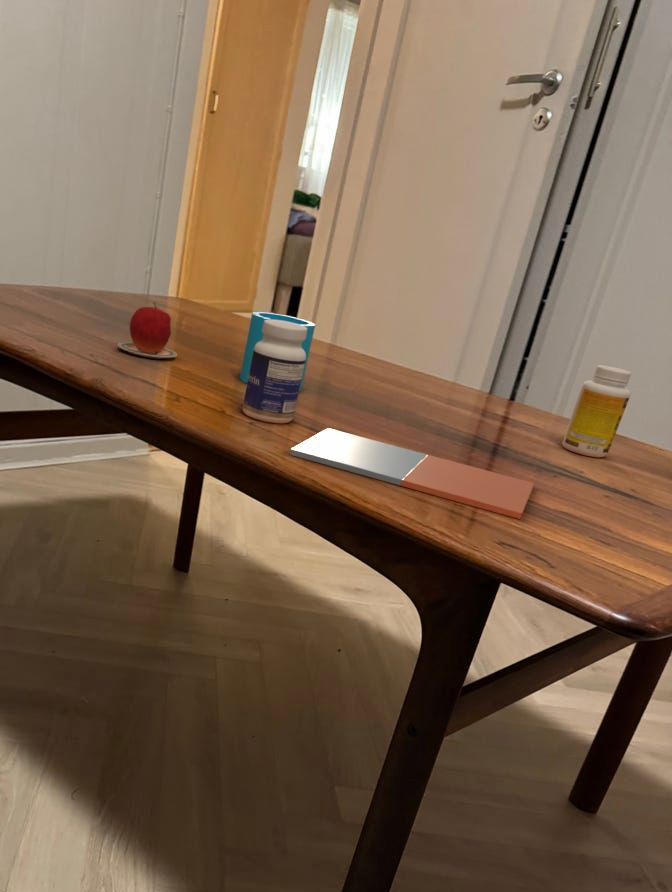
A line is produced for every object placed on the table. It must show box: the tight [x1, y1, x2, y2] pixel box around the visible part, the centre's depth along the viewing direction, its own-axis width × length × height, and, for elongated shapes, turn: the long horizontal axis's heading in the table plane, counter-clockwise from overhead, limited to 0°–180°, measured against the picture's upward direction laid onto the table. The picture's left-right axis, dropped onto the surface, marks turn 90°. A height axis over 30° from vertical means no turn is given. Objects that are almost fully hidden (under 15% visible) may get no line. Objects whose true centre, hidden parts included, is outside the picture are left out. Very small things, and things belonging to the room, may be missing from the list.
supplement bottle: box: [562, 364, 632, 458], centre depth 110 cm, size 6×6×10 cm
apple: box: [117, 301, 178, 360], centre depth 121 cm, size 8×8×6 cm
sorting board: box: [289, 427, 535, 520], centre depth 89 cm, size 22×13×1 cm, turn 66°
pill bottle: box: [242, 319, 307, 424], centre depth 97 cm, size 6×6×10 cm
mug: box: [239, 311, 316, 392], centre depth 117 cm, size 12×8×8 cm
